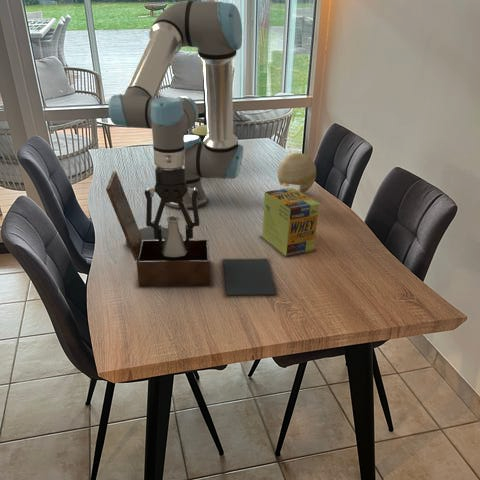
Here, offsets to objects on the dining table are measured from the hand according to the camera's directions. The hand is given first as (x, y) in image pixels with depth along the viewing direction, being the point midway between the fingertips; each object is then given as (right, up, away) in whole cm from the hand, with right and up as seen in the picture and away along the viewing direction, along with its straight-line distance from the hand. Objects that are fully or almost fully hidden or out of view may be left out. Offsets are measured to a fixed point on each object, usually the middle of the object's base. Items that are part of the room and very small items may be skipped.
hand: (174, 248), depth 139 cm
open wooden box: (0, -7, +4) cm, 8 cm away
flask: (0, -1, +1) cm, 1 cm away
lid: (-12, +8, -7) cm, 15 cm away
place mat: (+20, -7, +4) cm, 22 cm away
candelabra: (+4, +46, +81) cm, 93 cm away
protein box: (+33, +5, +23) cm, 40 cm away
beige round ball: (+40, +31, +61) cm, 79 cm away
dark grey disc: (-9, +4, +19) cm, 22 cm away
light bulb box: (+35, +16, +39) cm, 55 cm away
